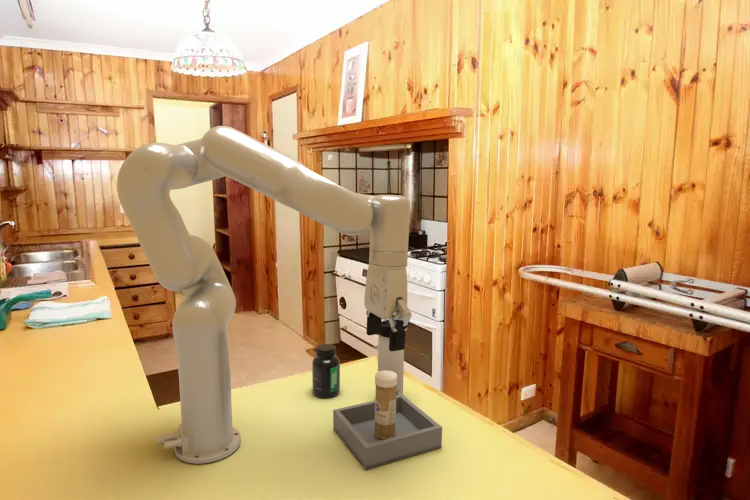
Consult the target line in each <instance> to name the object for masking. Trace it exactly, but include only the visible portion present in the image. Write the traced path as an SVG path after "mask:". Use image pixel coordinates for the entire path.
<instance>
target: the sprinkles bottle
mask: <svg viewBox="0 0 750 500" xmlns="http://www.w3.org/2000/svg"><path fill="white" fill-rule="evenodd" d="M374 384H375V400H374V401H375V431H374V434H375V436H376V437H377V438H378V439H381V440H385V439H389V438H393V437H394V436H395V434H396V433H395V421H396V386H397V374H396V373H395V372H392V371H387V370H384V371H379V372H378V371H377V372H376V373H375V375H374Z"/></svg>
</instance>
